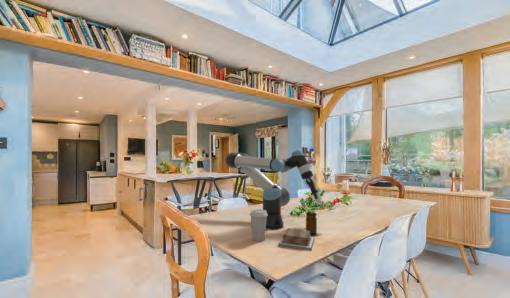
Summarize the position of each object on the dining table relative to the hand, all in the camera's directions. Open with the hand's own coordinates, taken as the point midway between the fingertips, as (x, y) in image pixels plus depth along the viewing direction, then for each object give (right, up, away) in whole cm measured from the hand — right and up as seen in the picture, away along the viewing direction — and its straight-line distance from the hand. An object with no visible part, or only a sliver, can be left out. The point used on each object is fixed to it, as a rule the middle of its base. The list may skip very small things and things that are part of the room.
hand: (319, 203), depth 149 cm
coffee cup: (-39, -14, -25) cm, 48 cm away
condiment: (-8, -15, -13) cm, 22 cm away
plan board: (-19, -14, -28) cm, 37 cm away
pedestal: (-19, -14, -28) cm, 37 cm away
